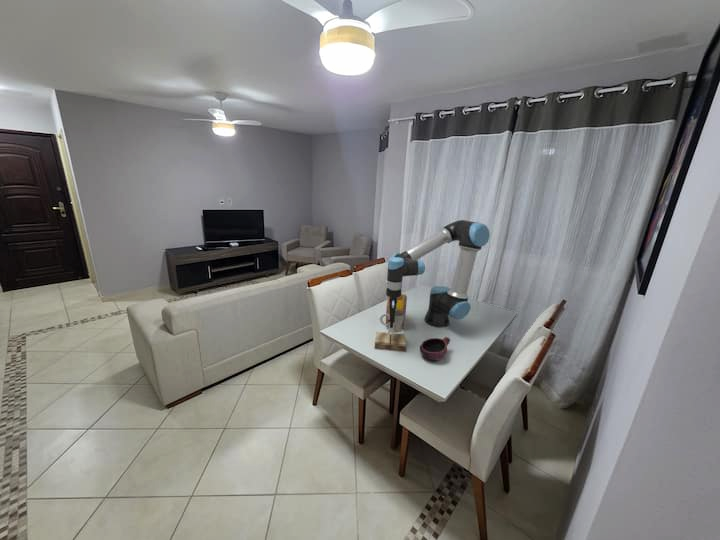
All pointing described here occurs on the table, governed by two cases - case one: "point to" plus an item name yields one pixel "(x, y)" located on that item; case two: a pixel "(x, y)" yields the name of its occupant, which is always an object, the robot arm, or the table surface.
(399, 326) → the mug
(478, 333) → the table surface
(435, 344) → the bowl
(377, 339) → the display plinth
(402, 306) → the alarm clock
